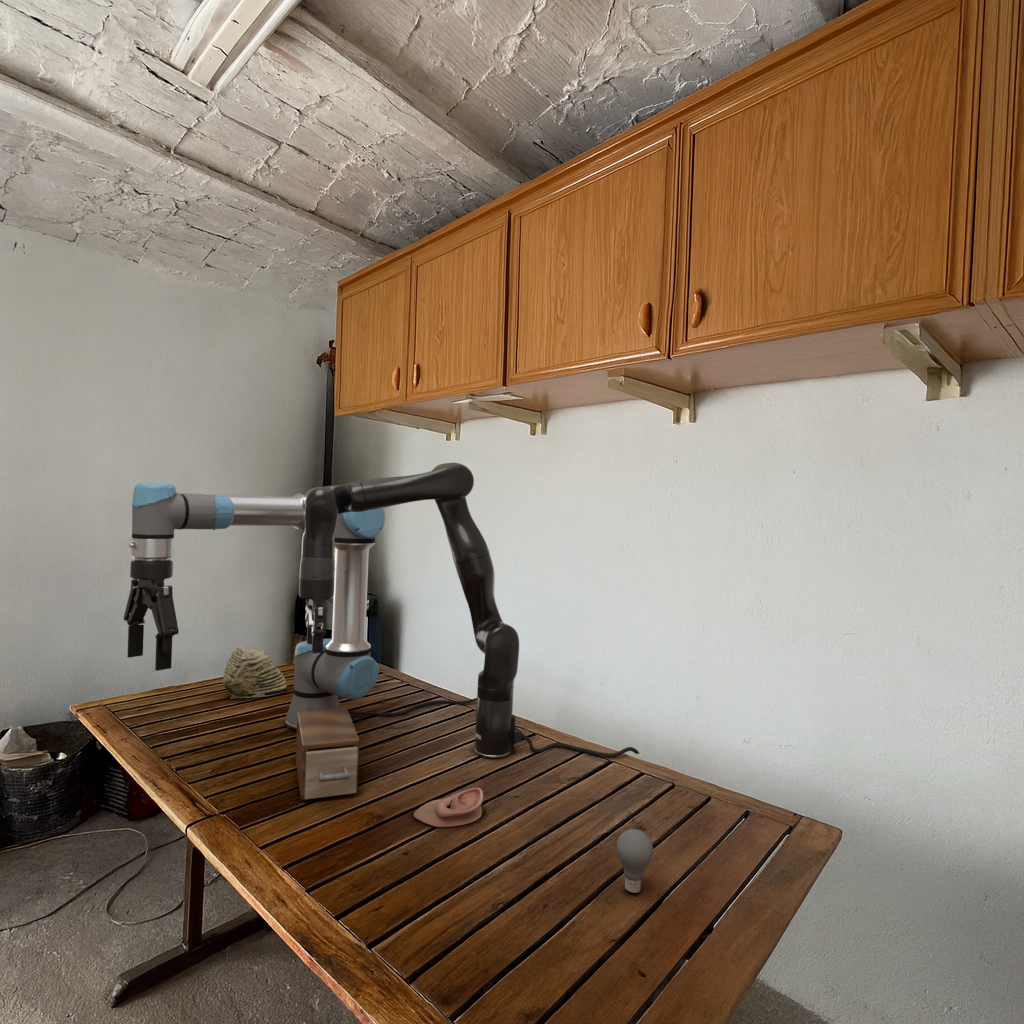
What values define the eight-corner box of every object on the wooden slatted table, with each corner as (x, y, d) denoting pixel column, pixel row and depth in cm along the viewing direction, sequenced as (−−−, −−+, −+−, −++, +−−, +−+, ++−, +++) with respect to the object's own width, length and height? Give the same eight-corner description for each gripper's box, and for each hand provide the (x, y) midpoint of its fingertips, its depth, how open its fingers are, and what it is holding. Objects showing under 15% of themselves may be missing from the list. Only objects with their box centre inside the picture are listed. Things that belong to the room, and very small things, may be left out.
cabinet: (357, 793, 136) (359, 739, 136) (300, 800, 132) (303, 745, 132) (344, 753, 156) (346, 707, 156) (295, 759, 152) (297, 711, 152)
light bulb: (610, 879, 108) (613, 822, 108) (644, 879, 109) (647, 822, 109) (619, 902, 102) (622, 840, 102) (655, 901, 103) (658, 840, 103)
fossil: (218, 695, 195) (220, 647, 195) (278, 685, 208) (279, 640, 207) (228, 703, 189) (230, 653, 188) (289, 692, 201) (290, 645, 201)
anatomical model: (408, 802, 124) (427, 778, 135) (407, 822, 124) (427, 796, 136) (473, 812, 122) (488, 786, 133) (473, 832, 122) (487, 805, 133)
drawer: (359, 805, 129) (361, 759, 129) (306, 812, 125) (308, 764, 125) (344, 755, 153) (345, 716, 153) (299, 760, 149) (300, 720, 149)
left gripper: (108, 554, 134) (104, 654, 134) (159, 565, 118) (155, 678, 119) (146, 552, 140) (143, 648, 140) (199, 563, 124) (195, 671, 124)
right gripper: (339, 580, 137) (337, 654, 137) (329, 572, 150) (326, 640, 150) (303, 580, 134) (300, 657, 134) (295, 572, 147) (293, 642, 147)
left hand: (148, 662), depth 129 cm, fingers open, 13 cm apart
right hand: (314, 648), depth 142 cm, fingers open, 8 cm apart
